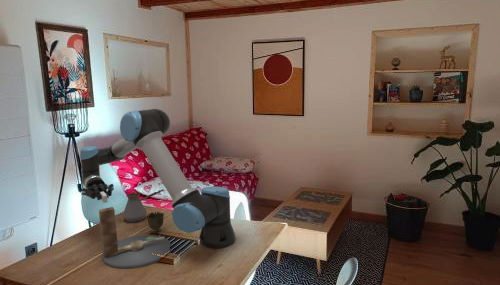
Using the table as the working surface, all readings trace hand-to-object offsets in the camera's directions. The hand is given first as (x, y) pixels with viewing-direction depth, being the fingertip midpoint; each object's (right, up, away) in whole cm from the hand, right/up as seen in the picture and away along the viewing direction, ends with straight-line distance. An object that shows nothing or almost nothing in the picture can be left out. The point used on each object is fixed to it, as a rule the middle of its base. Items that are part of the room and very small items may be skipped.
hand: (105, 199), depth 139 cm
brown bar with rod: (+11, -20, +3) cm, 23 cm away
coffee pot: (+4, -16, +39) cm, 43 cm away
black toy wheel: (+14, -19, +24) cm, 33 cm away
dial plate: (+11, -22, +4) cm, 25 cm away
